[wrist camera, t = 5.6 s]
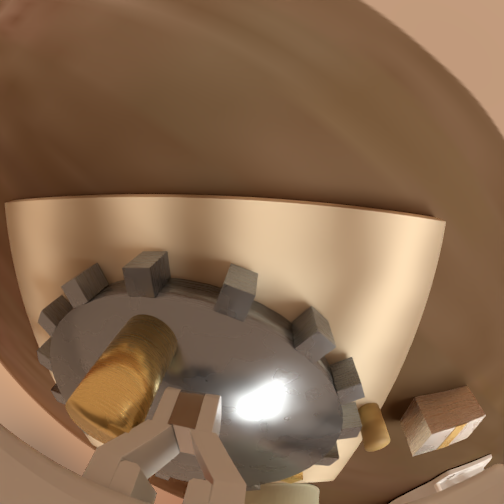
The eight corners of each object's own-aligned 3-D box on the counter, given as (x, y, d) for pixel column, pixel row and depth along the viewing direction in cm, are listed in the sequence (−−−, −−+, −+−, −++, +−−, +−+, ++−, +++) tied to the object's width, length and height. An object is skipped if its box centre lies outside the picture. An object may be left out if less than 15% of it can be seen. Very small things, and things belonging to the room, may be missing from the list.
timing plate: (435, 217, 11) (484, 239, 8) (332, 472, 19) (336, 504, 15) (14, 199, 12) (-29, 213, 9) (95, 438, 20) (82, 463, 17)
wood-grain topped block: (466, 384, 15) (486, 415, 11) (450, 407, 16) (467, 438, 12) (414, 396, 15) (432, 434, 12) (399, 419, 16) (412, 456, 13)
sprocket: (389, 249, 11) (490, 341, 4) (326, 472, 17) (332, 536, 10) (19, 252, 12) (-61, 299, 6) (111, 449, 19) (87, 500, 12)
